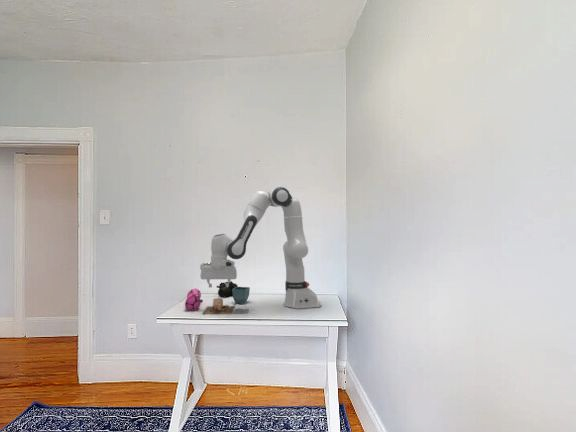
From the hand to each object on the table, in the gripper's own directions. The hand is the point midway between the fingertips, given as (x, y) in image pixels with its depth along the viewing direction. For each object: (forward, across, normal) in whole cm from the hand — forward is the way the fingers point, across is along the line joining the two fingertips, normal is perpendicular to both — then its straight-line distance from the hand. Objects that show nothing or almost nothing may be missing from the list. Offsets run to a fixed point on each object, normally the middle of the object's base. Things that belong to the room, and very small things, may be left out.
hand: (218, 287), depth 197 cm
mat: (+13, +14, -4) cm, 19 cm away
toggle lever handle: (+13, 0, -1) cm, 13 cm away
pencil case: (+14, -16, +10) cm, 23 cm away
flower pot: (+13, +12, +17) cm, 24 cm away
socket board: (+13, 0, 0) cm, 13 cm away
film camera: (+13, 0, +36) cm, 38 cm away
